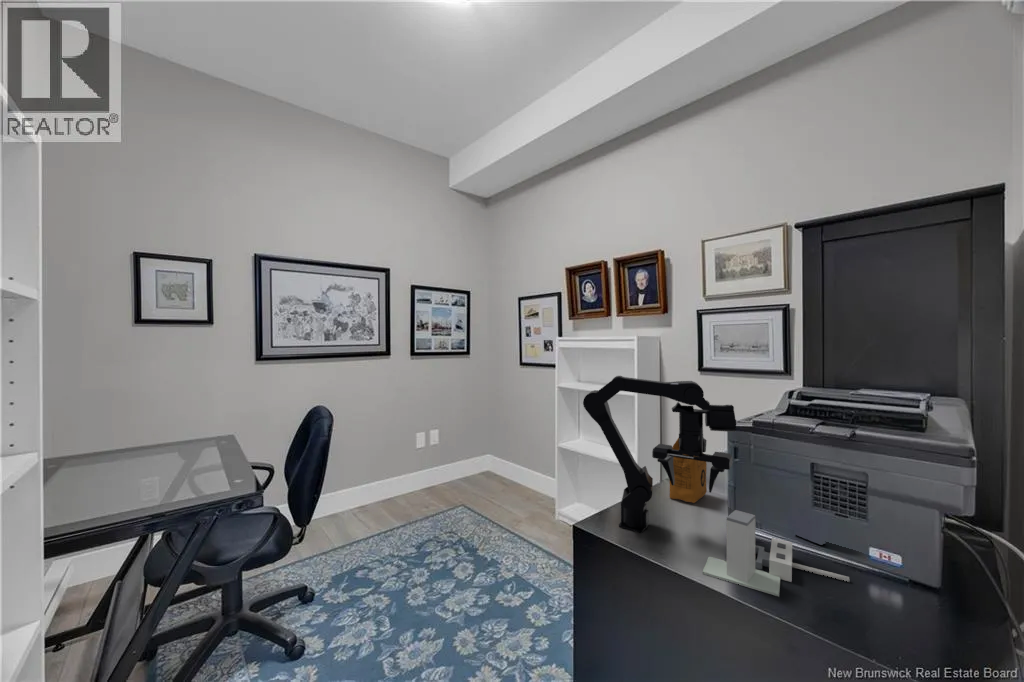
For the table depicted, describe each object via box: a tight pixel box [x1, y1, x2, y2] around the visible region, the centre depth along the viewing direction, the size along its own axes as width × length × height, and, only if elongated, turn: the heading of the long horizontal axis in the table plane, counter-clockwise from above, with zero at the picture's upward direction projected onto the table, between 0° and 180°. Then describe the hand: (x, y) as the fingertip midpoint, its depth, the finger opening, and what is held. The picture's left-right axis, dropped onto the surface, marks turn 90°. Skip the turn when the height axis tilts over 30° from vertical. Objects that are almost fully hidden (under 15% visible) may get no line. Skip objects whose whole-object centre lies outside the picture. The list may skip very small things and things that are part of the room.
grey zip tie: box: [755, 537, 850, 583], centre depth 92 cm, size 22×12×4 cm, turn 55°
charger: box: [726, 509, 756, 583], centre depth 89 cm, size 4×6×12 cm
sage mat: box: [702, 556, 781, 598], centre depth 89 cm, size 14×8×1 cm, turn 55°
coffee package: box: [668, 437, 708, 504], centre depth 133 cm, size 10×12×22 cm
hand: (691, 488), depth 108 cm, fingers open, 9 cm apart
